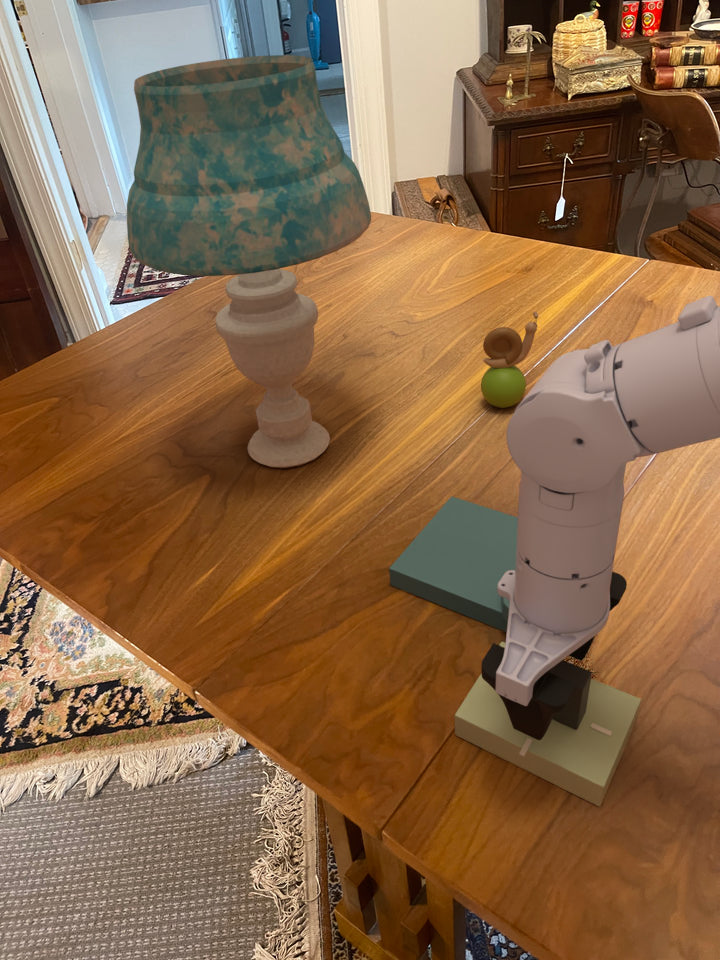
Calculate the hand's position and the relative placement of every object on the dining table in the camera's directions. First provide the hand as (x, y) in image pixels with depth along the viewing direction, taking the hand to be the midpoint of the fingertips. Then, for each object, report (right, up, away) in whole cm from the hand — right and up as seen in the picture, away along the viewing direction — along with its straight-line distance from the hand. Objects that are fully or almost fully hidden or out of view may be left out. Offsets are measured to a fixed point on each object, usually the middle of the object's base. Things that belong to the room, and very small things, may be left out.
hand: (550, 689), depth 52 cm
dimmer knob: (0, -1, +1) cm, 2 cm away
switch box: (-1, +5, +15) cm, 16 cm away
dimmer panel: (0, -4, +3) cm, 5 cm away
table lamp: (-22, +19, +36) cm, 46 cm away
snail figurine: (+5, +24, +40) cm, 47 cm away
